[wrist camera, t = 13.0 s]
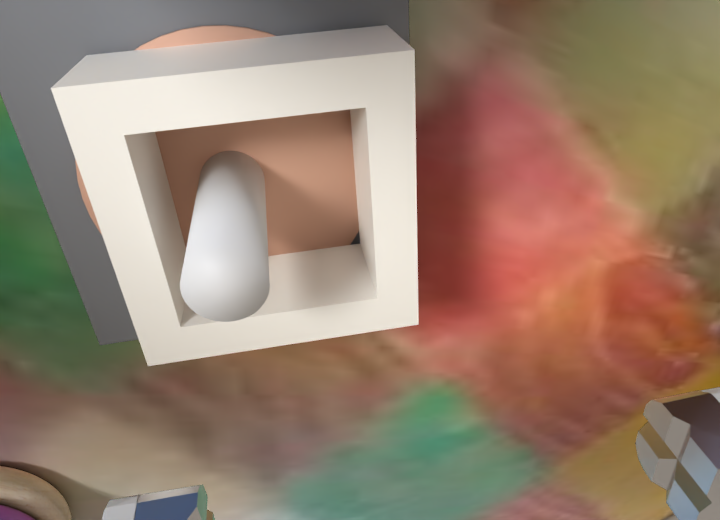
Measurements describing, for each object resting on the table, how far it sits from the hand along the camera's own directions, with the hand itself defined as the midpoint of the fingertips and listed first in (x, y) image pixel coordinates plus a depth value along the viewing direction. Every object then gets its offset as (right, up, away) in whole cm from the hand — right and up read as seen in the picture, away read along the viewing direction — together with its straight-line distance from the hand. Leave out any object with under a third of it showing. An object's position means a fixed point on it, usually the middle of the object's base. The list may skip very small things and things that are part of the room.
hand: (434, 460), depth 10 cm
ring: (-5, +7, +12) cm, 14 cm away
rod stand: (-6, +8, +13) cm, 16 cm away
